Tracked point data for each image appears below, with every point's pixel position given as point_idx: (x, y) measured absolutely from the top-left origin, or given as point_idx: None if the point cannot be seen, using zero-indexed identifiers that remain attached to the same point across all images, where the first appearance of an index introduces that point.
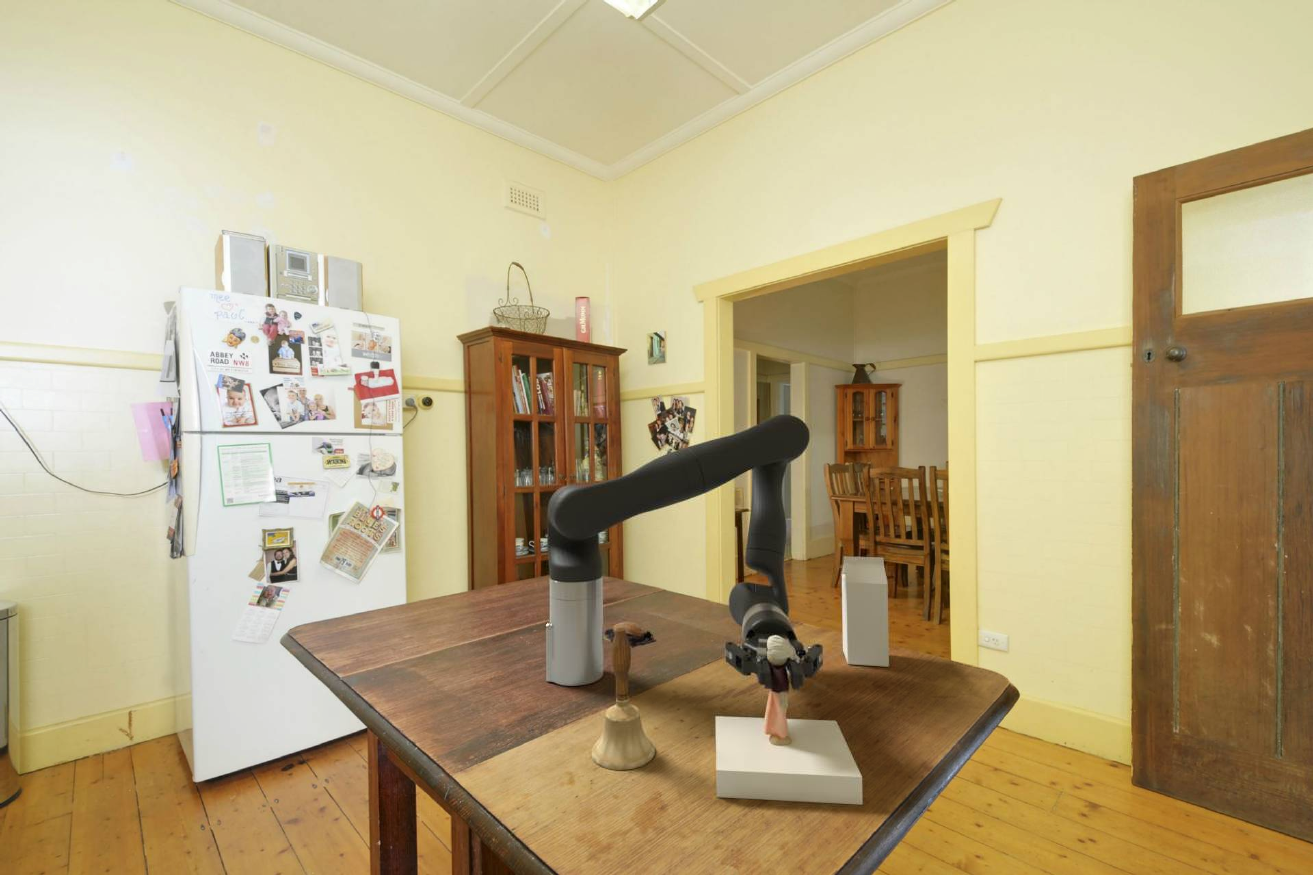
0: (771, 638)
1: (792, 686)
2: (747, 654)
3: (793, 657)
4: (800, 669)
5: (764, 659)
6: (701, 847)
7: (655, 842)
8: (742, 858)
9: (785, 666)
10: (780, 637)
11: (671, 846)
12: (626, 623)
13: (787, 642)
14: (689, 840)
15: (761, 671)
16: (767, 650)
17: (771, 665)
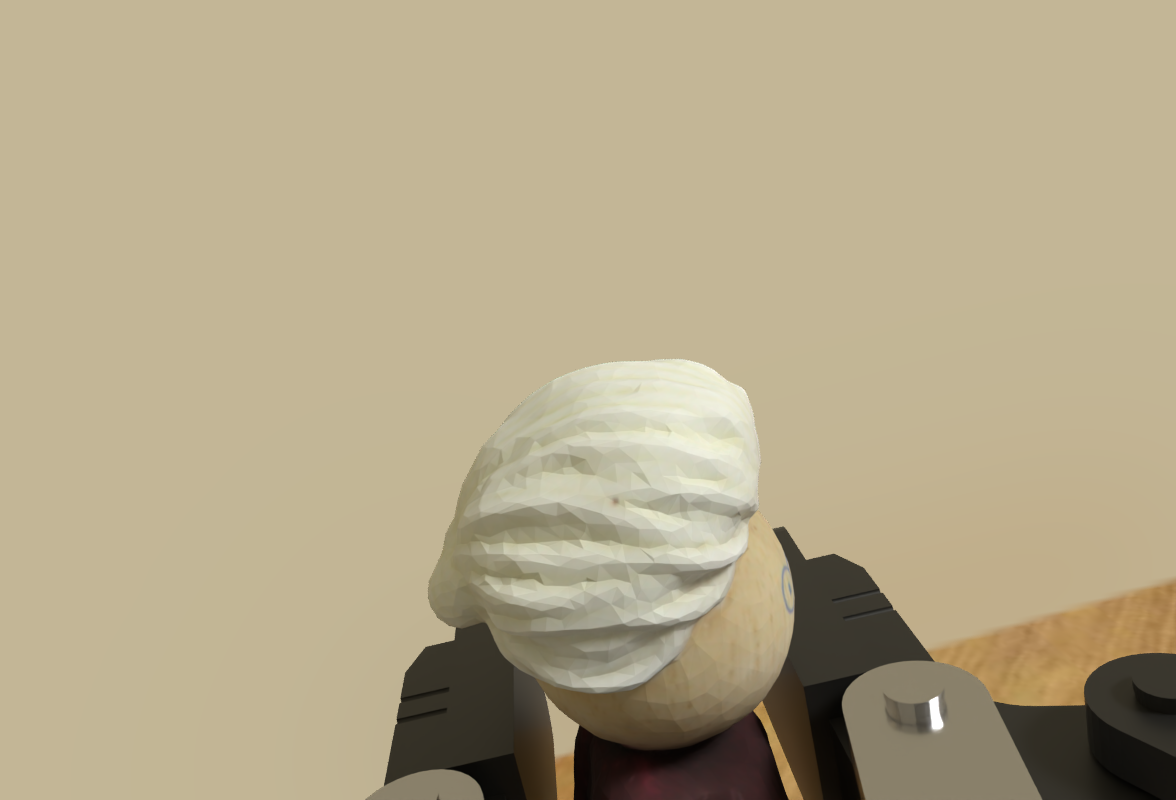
0: (680, 360)
1: (552, 757)
2: (1143, 675)
3: (434, 786)
4: (415, 721)
5: (850, 689)
6: (996, 681)
7: (1163, 650)
8: None
9: (578, 731)
10: (554, 379)
11: (1097, 655)
12: None
13: (477, 456)
14: (1055, 689)
15: (830, 573)
16: (772, 532)
17: (758, 737)
